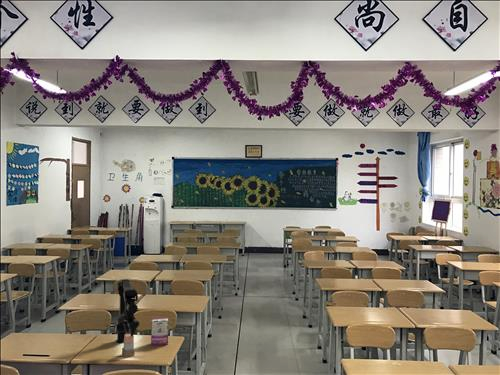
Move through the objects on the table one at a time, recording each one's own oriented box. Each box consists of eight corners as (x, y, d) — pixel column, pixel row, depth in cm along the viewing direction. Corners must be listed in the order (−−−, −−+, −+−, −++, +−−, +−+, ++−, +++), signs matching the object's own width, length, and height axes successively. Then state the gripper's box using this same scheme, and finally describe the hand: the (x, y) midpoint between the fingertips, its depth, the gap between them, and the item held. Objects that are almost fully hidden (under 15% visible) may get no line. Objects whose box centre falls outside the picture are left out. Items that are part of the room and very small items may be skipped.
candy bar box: (167, 342, 299) (168, 318, 299) (168, 344, 294) (168, 320, 294) (151, 343, 297) (151, 318, 297) (150, 345, 292) (151, 321, 292)
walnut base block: (121, 354, 275) (122, 348, 276) (131, 352, 279) (131, 346, 279) (125, 357, 271) (125, 351, 271) (134, 355, 274) (134, 349, 274)
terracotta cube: (124, 341, 275) (124, 334, 275) (131, 340, 278) (131, 333, 278) (126, 344, 272) (126, 336, 272) (133, 342, 274) (133, 335, 274)
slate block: (123, 348, 275) (123, 341, 275) (131, 346, 278) (131, 340, 278) (125, 350, 271) (125, 344, 271) (133, 349, 274) (133, 342, 274)
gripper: (112, 307, 278) (111, 332, 278) (122, 314, 263) (121, 340, 263) (129, 305, 285) (128, 329, 284) (139, 312, 269) (139, 337, 269)
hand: (129, 334), depth 275 cm, fingers open, 9 cm apart
